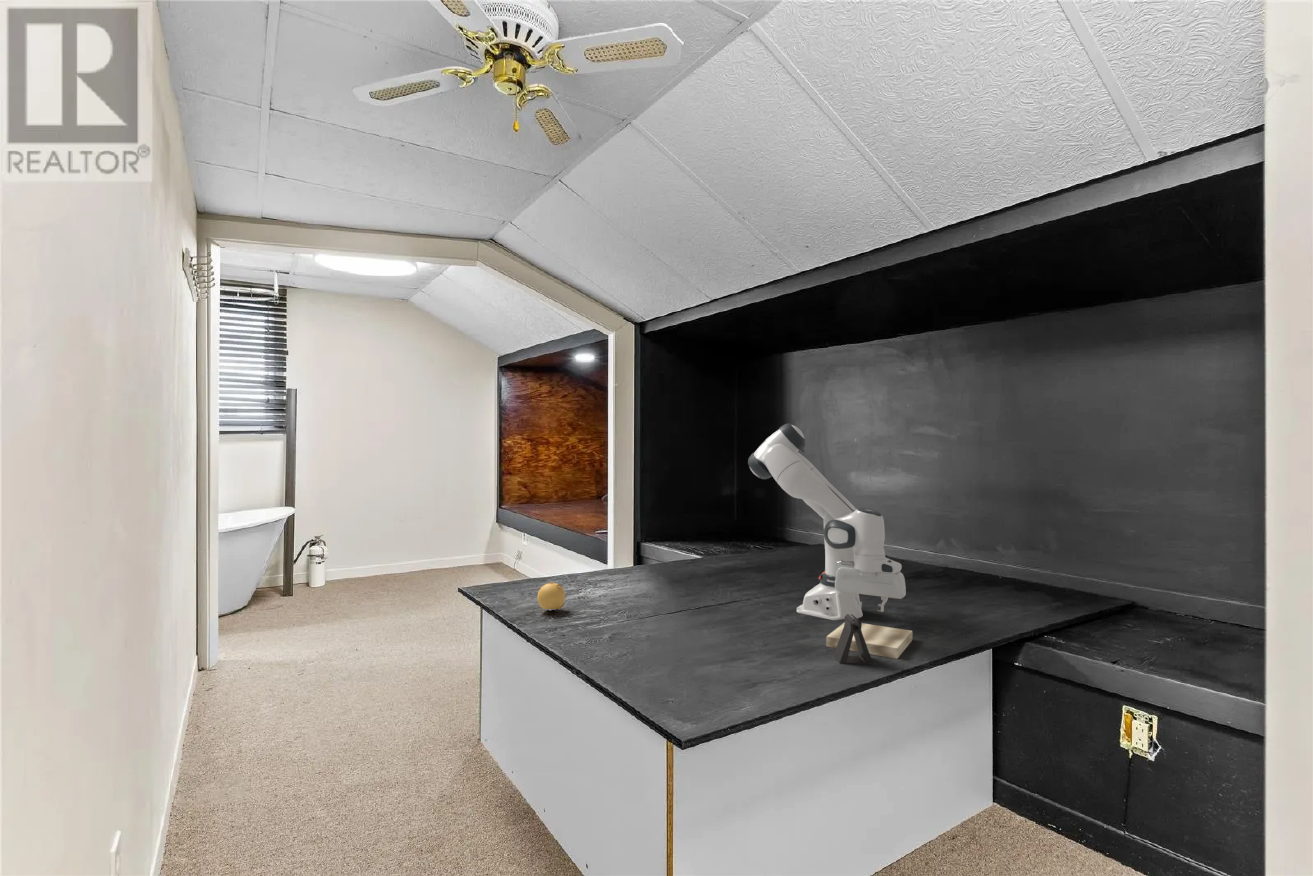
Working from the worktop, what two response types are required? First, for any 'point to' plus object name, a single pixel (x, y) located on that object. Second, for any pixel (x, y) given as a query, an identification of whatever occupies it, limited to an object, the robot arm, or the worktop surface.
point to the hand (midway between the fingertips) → (869, 609)
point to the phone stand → (846, 640)
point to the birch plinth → (876, 640)
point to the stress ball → (551, 596)
